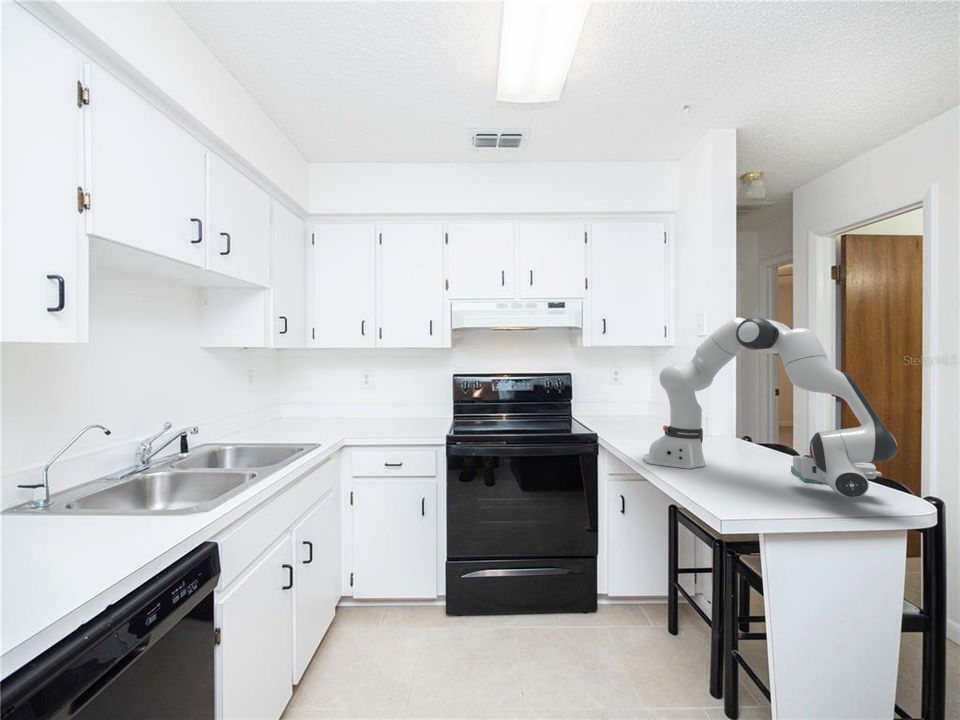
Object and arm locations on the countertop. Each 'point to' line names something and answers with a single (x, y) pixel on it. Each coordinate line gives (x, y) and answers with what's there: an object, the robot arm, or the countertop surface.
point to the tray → (803, 477)
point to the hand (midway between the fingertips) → (828, 461)
